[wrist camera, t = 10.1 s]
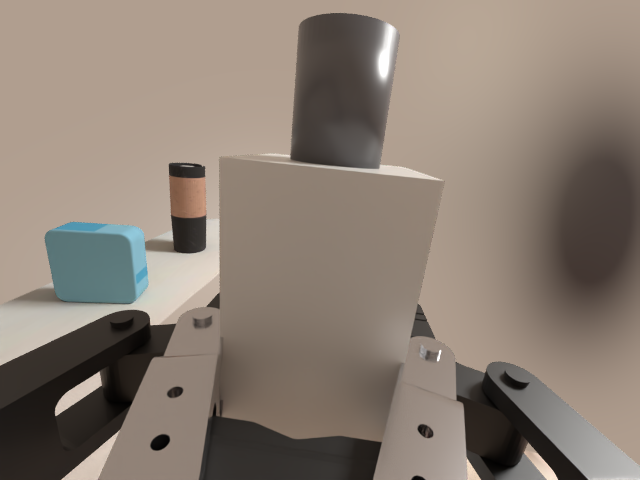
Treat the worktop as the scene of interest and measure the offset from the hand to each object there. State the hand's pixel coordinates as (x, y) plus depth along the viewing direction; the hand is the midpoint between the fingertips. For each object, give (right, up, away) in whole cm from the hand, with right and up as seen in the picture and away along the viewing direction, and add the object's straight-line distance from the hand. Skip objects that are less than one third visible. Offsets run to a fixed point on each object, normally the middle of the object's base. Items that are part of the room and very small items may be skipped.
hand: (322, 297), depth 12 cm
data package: (-36, -7, +38) cm, 53 cm away
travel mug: (-32, 0, +61) cm, 69 cm away
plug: (-1, -8, 0) cm, 8 cm away
